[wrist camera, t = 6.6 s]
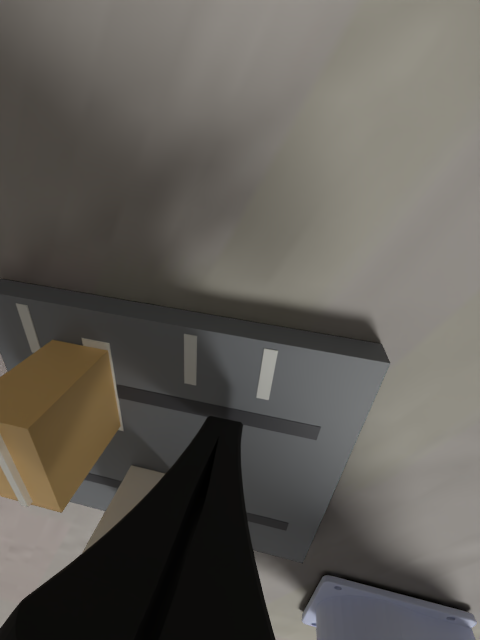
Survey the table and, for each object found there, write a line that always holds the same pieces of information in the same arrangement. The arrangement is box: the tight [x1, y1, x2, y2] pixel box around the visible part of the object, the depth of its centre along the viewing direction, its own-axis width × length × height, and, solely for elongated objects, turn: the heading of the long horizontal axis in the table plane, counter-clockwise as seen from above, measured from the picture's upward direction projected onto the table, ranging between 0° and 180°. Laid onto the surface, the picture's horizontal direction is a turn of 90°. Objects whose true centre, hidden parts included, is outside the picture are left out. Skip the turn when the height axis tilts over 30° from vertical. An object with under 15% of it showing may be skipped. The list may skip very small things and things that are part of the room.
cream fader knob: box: [82, 465, 165, 553], centre depth 15 cm, size 2×4×4 cm, turn 175°
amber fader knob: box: [0, 340, 121, 513], centre depth 11 cm, size 2×4×4 cm, turn 175°
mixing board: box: [0, 279, 390, 563], centre depth 15 cm, size 16×15×1 cm
